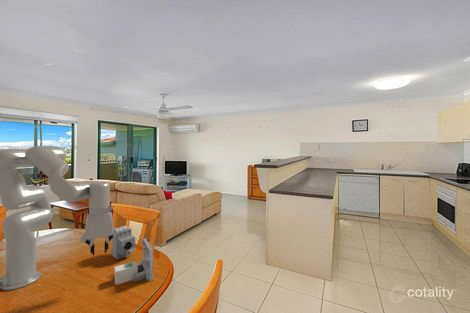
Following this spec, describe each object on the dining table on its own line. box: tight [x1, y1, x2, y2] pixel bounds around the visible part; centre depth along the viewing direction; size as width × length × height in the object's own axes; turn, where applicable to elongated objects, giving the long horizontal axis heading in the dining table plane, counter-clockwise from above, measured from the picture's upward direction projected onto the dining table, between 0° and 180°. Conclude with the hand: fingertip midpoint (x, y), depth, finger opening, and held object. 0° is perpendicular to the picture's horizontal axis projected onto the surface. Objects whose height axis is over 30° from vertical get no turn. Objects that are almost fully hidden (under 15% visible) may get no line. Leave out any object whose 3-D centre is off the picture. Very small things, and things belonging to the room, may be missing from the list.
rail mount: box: [132, 237, 154, 283], centre depth 99 cm, size 8×16×14 cm, turn 35°
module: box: [114, 260, 139, 286], centre depth 95 cm, size 9×5×6 cm, turn 124°
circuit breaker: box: [110, 225, 136, 260], centre depth 116 cm, size 8×14×15 cm, turn 53°
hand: (99, 252), depth 89 cm, fingers open, 3 cm apart
